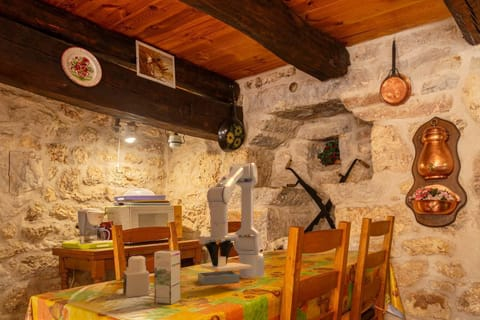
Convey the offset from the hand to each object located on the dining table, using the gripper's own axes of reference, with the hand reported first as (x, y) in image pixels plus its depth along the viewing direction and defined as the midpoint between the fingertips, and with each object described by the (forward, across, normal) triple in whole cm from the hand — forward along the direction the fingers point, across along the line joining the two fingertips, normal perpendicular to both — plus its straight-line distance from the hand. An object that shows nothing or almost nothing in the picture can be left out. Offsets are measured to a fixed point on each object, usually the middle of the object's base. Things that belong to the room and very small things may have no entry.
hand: (219, 265), depth 125 cm
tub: (+8, -7, -11) cm, 16 cm away
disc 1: (+8, -5, -12) cm, 15 cm away
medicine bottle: (+8, +22, -14) cm, 28 cm away
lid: (+1, -3, 0) cm, 3 cm away
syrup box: (+8, +20, +2) cm, 21 cm away
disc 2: (+8, -10, -10) cm, 16 cm away
